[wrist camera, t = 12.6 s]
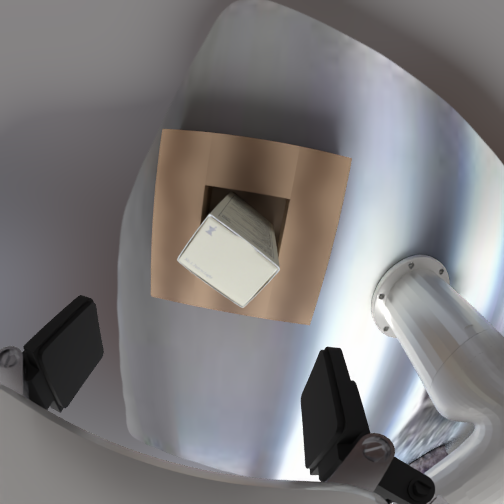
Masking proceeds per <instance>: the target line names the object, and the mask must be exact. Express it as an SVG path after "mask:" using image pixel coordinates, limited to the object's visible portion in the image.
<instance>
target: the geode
mask: <svg viewBox="0 0 504 504" xmlns="http://www.w3.org/2000/svg"><path fill="white" fill-rule="evenodd" d="M446 456H448V453H447V452H446V448H445V445H442V446H440V447H437V448H435V449H433V450H431V451H430V452H428V453H427V454H425V455H424V456H422V457H421V458H419V459H418V460H416V461H414V462H413V463H411V464H409V466H411V467H413V468H414V469H416V470H418V471H420V472H421V473H425V472H426V471H428V470H429V469H430V468H432V467H433V466H434V465H436V464H437V463H438V462H440V461H441V460H442V459H444V458H445V457H446Z"/></svg>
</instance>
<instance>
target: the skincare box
mask: <svg viewBox="0 0 504 504" xmlns="http://www.w3.org/2000/svg"><path fill="white" fill-rule="evenodd" d="M177 261H178V262H179V263H180V264H182V265H183V266H184V267H185V268H187V269H188V270H189V271H190V272H192V273H193V274H194V275H195V276H197V277H198V278H200V279H201V280H202V281H204V282H205V283H206V284H208V285H209V286H211V287H212V288H213V289H215V290H216V291H218V292H219V293H220V294H222V295H223V296H225V297H226V298H228V299H229V300H231V301H232V302H234V303H235V304H237V305H238V306H240V307H241V308H244V307H245V306H246V305H247V304H248V303H249V302H250V301H251V300H252V299H253V298H254V297H255V296H256V295H257V294H258V293H259V292H260V291H261V290H262V289H263V288H264V287H265V286H266V285H267V284H268V283H269V282H270V281H271V280H272V278H273V277H274V276H275V275H276V274H277V273H278V272H279V271H280V266H279V259H278V252H277V246H276V239H275V232H274V226H273V225H272V224H271V223H270V222H269V221H268V220H267V219H266V218H264V217H263V216H262V215H261V214H260V213H258V212H257V211H256V210H255V209H253V208H252V207H251V206H250V205H248V204H247V203H246V202H245V201H243V200H242V199H241V198H239V197H238V196H237V195H235V194H234V193H233V192H230V193H229V194H228V195H227V196H226V197H225V198H224V199H223V200H222V201H221V202H220V203H219V204H218V205H217V206H216V207H215V208H214V209H213V211H212V212H211V213H210V214H209V215H208V216H207V217H206V219H205V220H204V221H203V222H202V224H201V225H200V226H199V228H198V229H197V230H196V232H195V233H194V234H193V236H192V237H191V238H190V240H189V241H188V243H187V244H186V246H185V247H184V249H183V250H182V252H181V253H180V255H179V256H178V258H177Z"/></svg>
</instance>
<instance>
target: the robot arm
mask: <svg viewBox="0 0 504 504" xmlns="http://www.w3.org/2000/svg"><path fill="white" fill-rule="evenodd" d="M371 311H372V317H373V319H374V322H375V324H376V325H377V327H378V329H379V330H380V331H381V332H382V333H383V334H385V335H387V336H389V337H392V338H397V339H398V340H399V342H400V344H401V345H402V347H403V349H404V351H405V352H406V354H407V356H408V358H409V359H410V361H411V363H412V365H413V366H414V368H415V370H416V372H417V374H418V376H419V377H420V379H421V381H422V383H423V385H424V387H425V389H426V391H427V392H428V394H429V396H430V398H431V400H432V402H433V404H434V406H435V407H436V409H437V411H438V412H439V413H440V414H441V415H442V416H444V417H445V418H447V419H449V420H452V421H457V422H467V423H471V424H473V425H474V426H475V429H474V431H473V433H472V434H471V435H470V436H469V437H468V438H467V439H466V440H465V441H464V442H463V443H462V444H461V445H460V446H459V447H458V448H456V449H455V450H454V451H453V452H451V453H450V454H449V455H448V456H446V457H445V458H444V459H442V460H441V461H440V462H438V463H437V464H436V465H434V466H433V467H432V468H430V469H429V470H428V471H426V472H425V473H421V472H420V471H418V470H416V469H414V468H413V467H411V466H409V465H407V464H406V463H404V462H402V461H401V460H399V459H397V458H396V457H394V455H395V448H394V445H393V443H392V442H391V440H390V439H389V438H387V437H386V436H384V435H381V434H378V433H371V434H370V430H369V426H368V423H367V419H366V416H365V412H364V408H363V405H362V402H361V398H360V395H359V391H358V388H357V385H356V383H355V382H354V381H351V380H350V376H349V373H348V370H347V366H346V363H345V360H344V357H343V353H342V350H341V349H340V348H333V347H326V348H325V350H321V351H320V352H319V355H318V357H317V360H316V362H315V365H314V367H313V369H312V372H311V374H310V377H309V379H308V381H307V384H306V386H305V388H304V390H303V393H302V396H301V410H302V422H303V436H304V451H305V466H306V468H310V475H319V480H320V481H321V482H311V481H290V480H273V479H262V478H253V477H244V476H236V475H229V474H223V473H217V472H212V471H207V470H202V469H197V468H193V467H188V466H184V465H180V464H176V463H172V462H169V461H165V460H161V459H158V458H155V457H151V456H149V455H146V454H142V453H140V452H137V451H133V450H131V449H128V448H125V447H123V446H120V445H118V444H115V443H113V442H110V441H108V440H105V439H103V438H101V437H98V436H96V435H94V434H92V433H90V432H87V431H85V430H83V429H81V428H79V427H77V426H75V425H73V424H71V423H69V422H67V421H65V420H64V419H62V418H60V417H58V416H56V415H55V414H53V413H51V412H49V411H48V408H49V406H51V408H53V409H55V410H57V411H58V412H61V411H62V410H63V408H66V407H68V405H69V404H70V402H71V401H72V399H73V398H74V396H75V395H76V393H77V392H78V391H79V389H80V388H81V386H82V385H83V383H84V382H85V380H86V379H87V378H88V376H89V375H90V374H91V372H92V371H93V369H94V368H95V367H96V365H97V364H98V362H99V361H100V360H101V358H102V356H103V352H104V351H103V345H102V340H101V334H100V329H99V323H98V316H97V309H96V304H95V303H94V302H93V300H92V299H91V298H88V297H85V296H82V295H80V296H78V297H77V298H76V299H75V300H73V301H72V302H71V303H70V304H69V305H68V306H67V307H65V308H64V309H63V310H62V311H61V312H60V313H59V314H57V315H56V316H55V317H54V318H53V319H52V320H51V321H50V322H49V323H47V324H46V325H45V326H44V327H43V328H42V329H41V330H40V331H39V332H38V333H37V334H36V335H35V336H34V337H33V338H32V339H30V340H29V341H28V342H27V343H26V344H25V345H24V351H23V352H21V350H20V349H19V348H17V347H14V346H8V347H4V348H2V349H1V350H0V504H504V337H503V336H502V335H501V334H500V333H499V331H497V330H496V329H495V328H494V327H493V326H492V325H491V324H490V323H489V322H488V321H487V320H486V319H485V318H484V317H483V316H482V315H481V314H480V313H479V312H478V311H477V310H476V309H475V308H474V307H473V306H472V305H471V304H470V303H469V302H468V301H466V300H465V299H464V298H463V297H462V296H461V295H460V294H459V293H458V292H457V291H455V290H454V289H453V288H452V287H451V286H450V281H449V276H448V273H447V271H446V268H445V267H444V266H443V265H442V263H440V262H439V261H438V260H436V259H435V258H433V257H431V256H427V255H414V256H410V257H408V258H405V259H403V260H401V261H400V262H398V263H397V264H395V265H394V266H393V267H392V268H391V269H389V270H388V271H387V273H386V274H385V275H384V276H383V277H382V279H381V280H380V282H379V284H378V285H377V287H376V290H375V292H374V295H373V299H372V308H371Z"/></svg>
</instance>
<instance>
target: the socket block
mask: <svg viewBox="0 0 504 504" xmlns="http://www.w3.org/2000/svg"><path fill="white" fill-rule="evenodd" d="M351 161H352V158H348V157H344V156H340V155H336V154H332V153H328V152H324V151H320V150H315V149H310V148H306V147H301V146H296V145H291V144H286V143H280V142H275V141H269V140H263V139H257V138H250V137H243V136H236V135H228V134H219V133H210V132H200V131H188V130H174V129H162V136H161V143H160V150H159V158H158V167H157V176H156V186H155V198H154V211H153V227H152V251H151V296H152V297H157V298H161V299H165V300H170V301H174V302H179V303H184V304H188V305H193V306H198V307H203V308H208V309H213V310H218V311H224V312H229V313H235V314H240V315H246V316H252V317H258V318H264V319H271V320H277V321H284V322H291V323H298V324H305V325H310V322H311V319H312V316H313V313H314V310H315V307H316V303H317V300H318V297H319V293H320V290H321V286H322V283H323V279H324V276H325V272H326V269H327V265H328V261H329V258H330V254H331V250H332V246H333V242H334V238H335V234H336V230H337V226H338V222H339V218H340V213H341V209H342V205H343V200H344V195H345V191H346V186H347V181H348V176H349V171H350V166H351ZM230 192H233V193H234V194H235V195H237V196H238V197H239V198H241V199H242V200H243V201H245V202H246V203H247V204H248V205H250V206H251V207H252V208H253V209H255V210H256V211H257V212H258V213H260V214H261V215H262V216H263V217H264V218H266V219H267V220H268V221H269V222H270V223H271V224H272V225H273V226H274V232H275V239H276V246H277V252H278V259H279V266H280V271H279V272H278V273H277V274H276V275H275V276H274V277H273V278H272V280H271V281H270V282H269V283H268V284H267V285H266V286H265V287H264V288H263V289H262V290H261V291H260V292H259V293H258V294H257V295H256V296H255V297H254V298H253V299H252V300H251V301H250V302H249V303H248V304H247V305H246V306H245V307H244V308H241V307H240V306H238V305H237V304H235V303H234V302H232V301H231V300H229V299H228V298H226V297H225V296H223V295H222V294H220V293H219V292H218V291H216V290H215V289H213V288H212V287H211V286H209V285H208V284H206V283H205V282H204V281H202V280H201V279H200V278H198V277H197V276H195V275H194V274H193V273H192V272H190V271H189V270H188V269H187V268H185V267H184V266H183V265H182V264H180V263H179V262H178V261H177V258H178V256H179V255H180V253H181V252H182V250H183V249H184V247H185V246H186V244H187V243H188V241H189V240H190V238H191V237H192V236H193V234H194V233H195V232H196V230H197V229H198V228H199V226H200V225H201V224H202V222H203V221H204V220H205V219H206V217H207V216H208V215H209V214H210V213H211V212H212V211H213V209H214V208H215V207H216V206H217V205H218V204H219V203H220V202H221V201H222V200H223V199H224V198H225V197H226V196H227V195H228V194H229V193H230Z"/></svg>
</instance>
